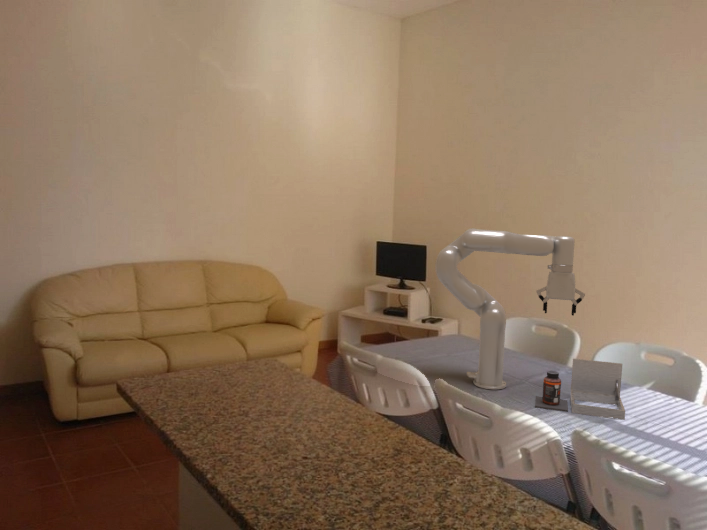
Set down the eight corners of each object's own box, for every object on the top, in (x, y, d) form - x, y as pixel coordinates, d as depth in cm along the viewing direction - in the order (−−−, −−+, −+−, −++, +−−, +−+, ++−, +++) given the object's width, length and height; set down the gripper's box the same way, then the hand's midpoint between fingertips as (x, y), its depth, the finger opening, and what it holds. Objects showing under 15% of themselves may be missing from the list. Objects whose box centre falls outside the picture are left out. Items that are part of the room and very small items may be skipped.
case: (571, 412, 196) (574, 370, 194) (570, 396, 212) (572, 357, 210) (624, 419, 190) (628, 376, 189) (618, 402, 207) (621, 362, 205)
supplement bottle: (560, 406, 200) (563, 375, 199) (543, 404, 201) (545, 373, 200) (558, 400, 206) (560, 370, 204) (541, 399, 207) (543, 369, 206)
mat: (534, 407, 200) (535, 405, 200) (535, 397, 210) (535, 396, 210) (568, 411, 196) (568, 410, 196) (567, 401, 207) (567, 400, 207)
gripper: (537, 268, 212) (534, 313, 214) (587, 271, 206) (584, 317, 208) (538, 266, 219) (535, 310, 221) (586, 269, 214) (583, 314, 215)
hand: (559, 313), depth 215 cm, fingers open, 9 cm apart
